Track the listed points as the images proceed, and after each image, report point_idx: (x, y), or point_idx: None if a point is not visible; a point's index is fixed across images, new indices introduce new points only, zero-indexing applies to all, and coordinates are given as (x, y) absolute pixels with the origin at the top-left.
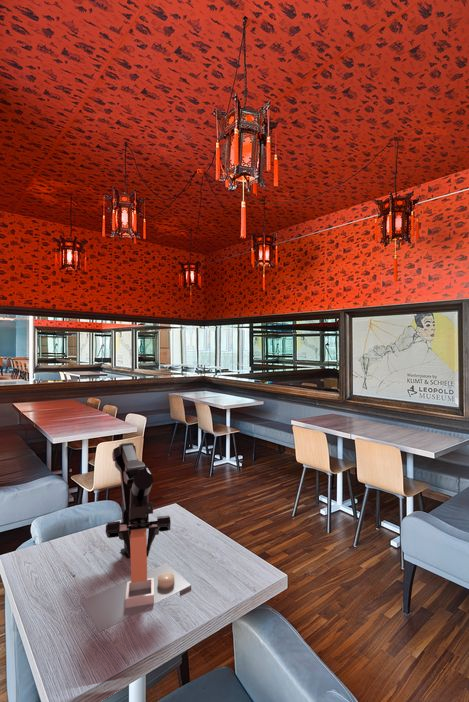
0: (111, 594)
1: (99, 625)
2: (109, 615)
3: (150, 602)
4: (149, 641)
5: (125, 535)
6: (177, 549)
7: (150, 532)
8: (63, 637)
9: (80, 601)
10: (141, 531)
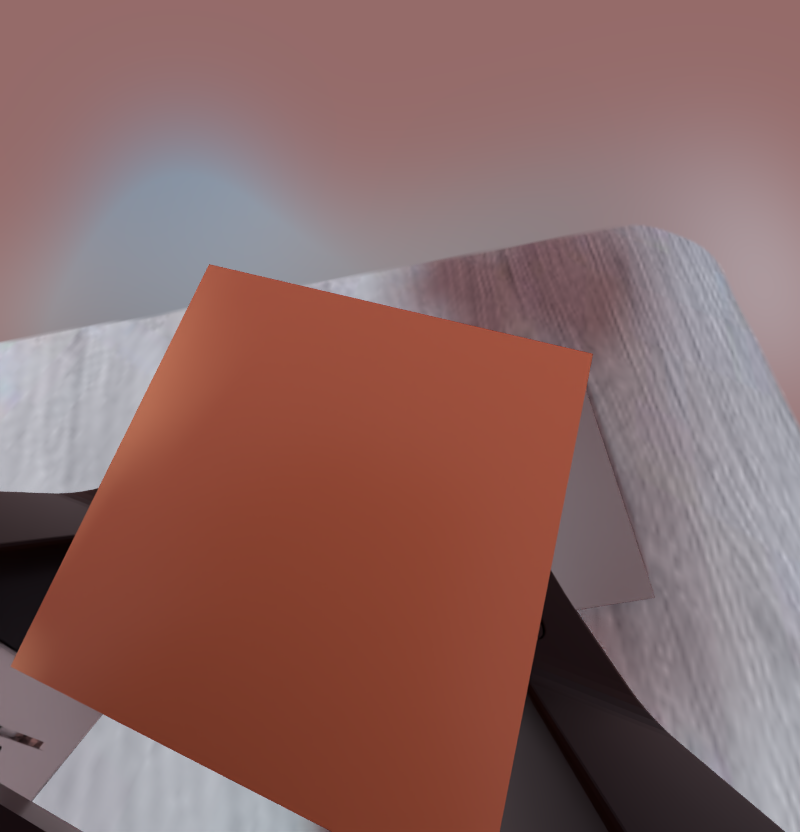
0: None
1: None
2: None
3: None
4: (432, 295)
5: (642, 753)
6: (127, 784)
7: (69, 517)
8: (694, 437)
9: (654, 596)
10: (201, 559)
